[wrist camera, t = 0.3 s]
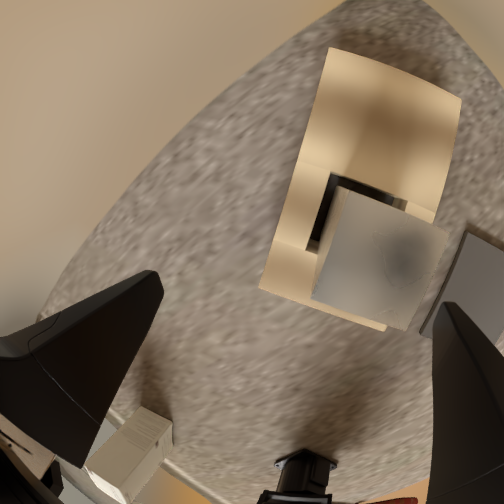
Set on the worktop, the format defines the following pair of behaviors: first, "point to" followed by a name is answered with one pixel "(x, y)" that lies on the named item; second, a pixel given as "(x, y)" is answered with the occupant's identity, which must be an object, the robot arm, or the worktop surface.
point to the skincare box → (131, 455)
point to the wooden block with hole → (362, 160)
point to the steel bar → (375, 259)
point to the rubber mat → (474, 287)
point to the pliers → (398, 501)
